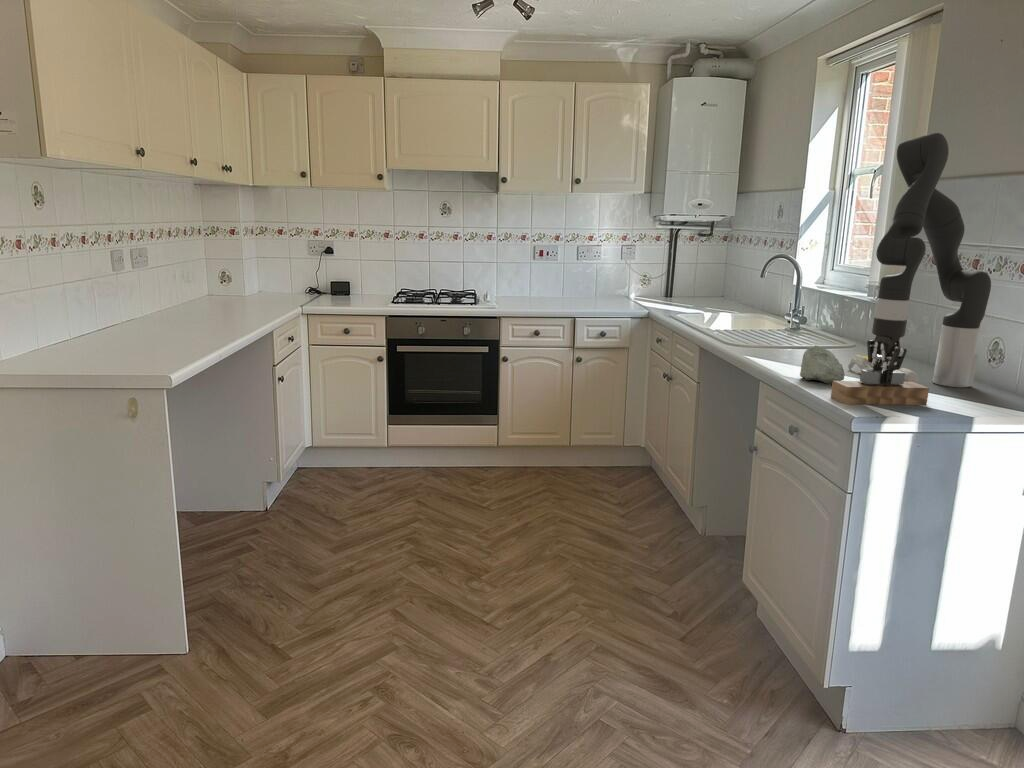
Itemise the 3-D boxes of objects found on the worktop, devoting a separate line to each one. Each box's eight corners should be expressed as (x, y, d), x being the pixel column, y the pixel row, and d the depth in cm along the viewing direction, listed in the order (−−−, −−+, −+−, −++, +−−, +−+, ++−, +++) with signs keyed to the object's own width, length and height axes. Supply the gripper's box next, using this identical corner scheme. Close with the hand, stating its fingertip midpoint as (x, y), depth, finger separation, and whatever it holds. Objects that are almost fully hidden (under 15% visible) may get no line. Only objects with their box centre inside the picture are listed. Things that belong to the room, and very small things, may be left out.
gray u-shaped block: (893, 399, 188) (898, 370, 186) (899, 403, 185) (905, 373, 183) (856, 399, 188) (861, 369, 186) (862, 402, 185) (867, 372, 183)
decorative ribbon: (872, 355, 226) (930, 374, 197) (866, 373, 227) (923, 395, 198) (848, 351, 226) (903, 369, 196) (843, 369, 227) (897, 390, 198)
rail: (909, 398, 191) (912, 381, 190) (926, 404, 184) (929, 388, 183) (830, 397, 189) (833, 380, 188) (844, 404, 182) (847, 386, 181)
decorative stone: (788, 374, 216) (792, 351, 208) (820, 361, 217) (826, 337, 209) (816, 405, 207) (821, 382, 199) (850, 391, 208) (857, 367, 201)
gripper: (922, 321, 175) (911, 389, 179) (888, 313, 189) (878, 376, 193) (893, 320, 174) (882, 389, 178) (861, 313, 188) (852, 376, 192)
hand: (880, 382), depth 185 cm, fingers open, 4 cm apart
